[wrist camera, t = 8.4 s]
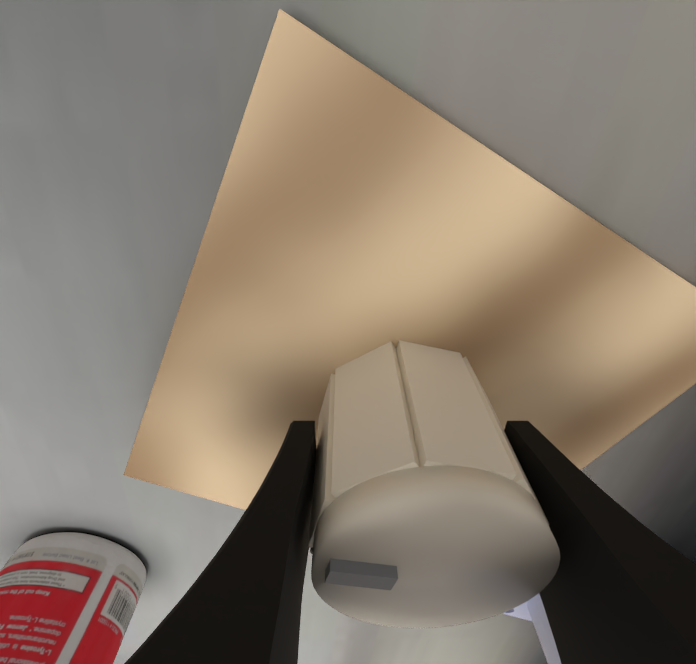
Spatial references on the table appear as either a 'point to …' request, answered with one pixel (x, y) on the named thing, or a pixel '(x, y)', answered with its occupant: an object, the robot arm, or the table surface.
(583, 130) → the table surface
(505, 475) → the cream control knob
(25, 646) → the pill bottle
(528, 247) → the stub plate
